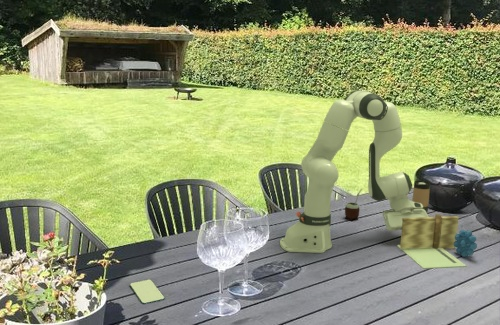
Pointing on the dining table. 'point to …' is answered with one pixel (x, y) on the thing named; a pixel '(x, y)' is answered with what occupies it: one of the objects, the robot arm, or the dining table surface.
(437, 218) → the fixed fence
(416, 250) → the board
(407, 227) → the gate panel
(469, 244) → the grapes
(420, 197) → the travel mug
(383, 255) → the dining table surface
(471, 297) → the dining table surface
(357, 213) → the mate gourd
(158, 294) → the smartphone
